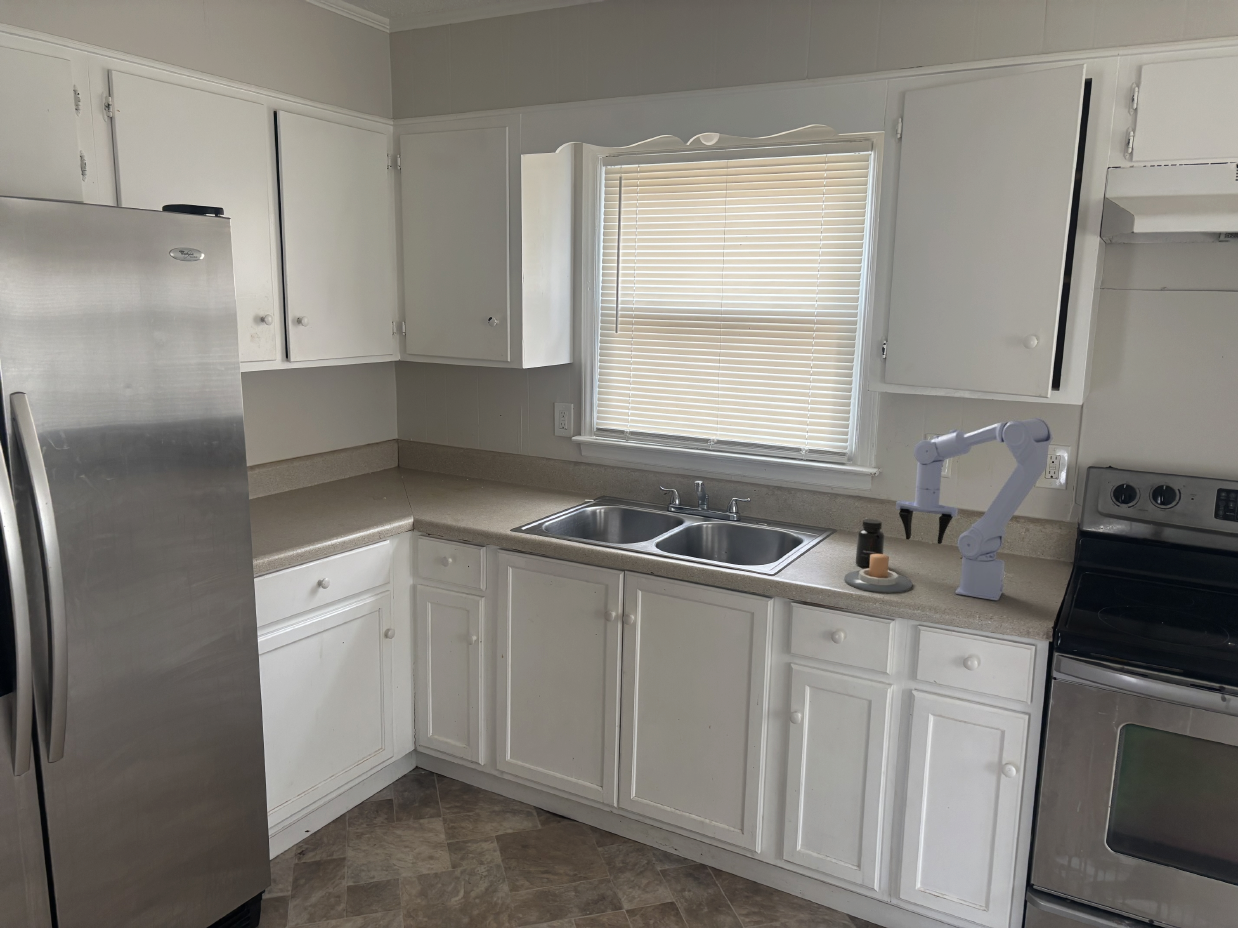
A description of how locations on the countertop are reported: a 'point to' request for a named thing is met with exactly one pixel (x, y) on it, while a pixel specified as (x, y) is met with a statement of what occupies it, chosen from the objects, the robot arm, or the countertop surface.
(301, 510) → the countertop surface
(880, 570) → the tan rounded block
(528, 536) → the countertop surface
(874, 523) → the supplement bottle
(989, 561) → the robot arm
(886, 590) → the tray
